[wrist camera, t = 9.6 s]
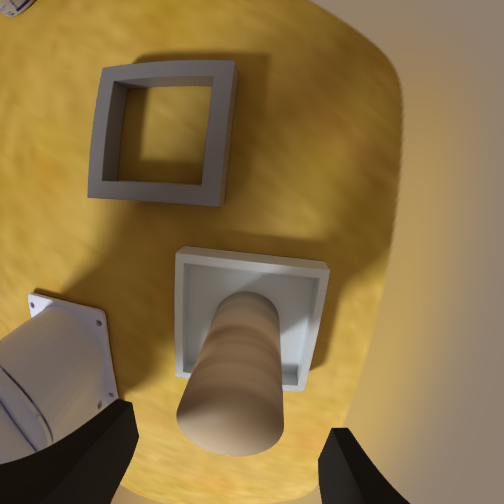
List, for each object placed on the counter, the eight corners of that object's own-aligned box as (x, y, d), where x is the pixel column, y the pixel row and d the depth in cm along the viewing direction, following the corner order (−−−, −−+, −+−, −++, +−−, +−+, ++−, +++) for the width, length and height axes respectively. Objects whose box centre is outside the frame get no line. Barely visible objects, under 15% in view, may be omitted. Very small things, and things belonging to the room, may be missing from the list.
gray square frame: (224, 203, 17) (218, 207, 15) (103, 195, 17) (87, 197, 16) (238, 72, 15) (234, 60, 13) (117, 76, 16) (102, 68, 14)
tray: (301, 375, 20) (303, 391, 18) (182, 361, 20) (175, 376, 18) (324, 261, 18) (330, 270, 16) (184, 245, 18) (175, 253, 16)
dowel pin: (274, 351, 19) (275, 460, 10) (213, 344, 19) (179, 447, 10) (283, 295, 18) (292, 393, 9) (216, 287, 18) (173, 378, 9)
